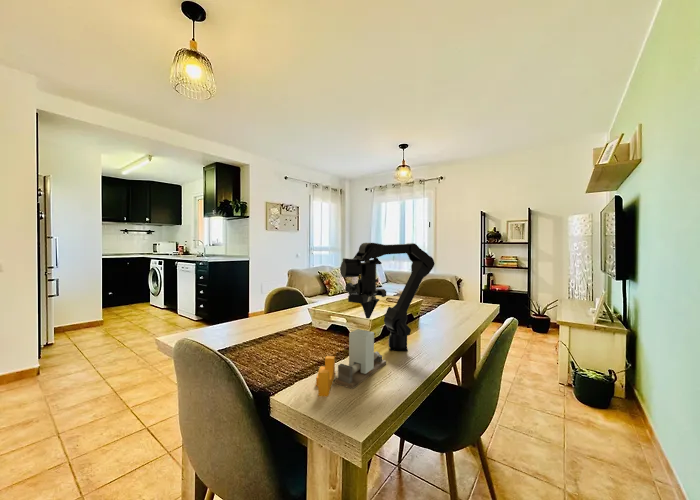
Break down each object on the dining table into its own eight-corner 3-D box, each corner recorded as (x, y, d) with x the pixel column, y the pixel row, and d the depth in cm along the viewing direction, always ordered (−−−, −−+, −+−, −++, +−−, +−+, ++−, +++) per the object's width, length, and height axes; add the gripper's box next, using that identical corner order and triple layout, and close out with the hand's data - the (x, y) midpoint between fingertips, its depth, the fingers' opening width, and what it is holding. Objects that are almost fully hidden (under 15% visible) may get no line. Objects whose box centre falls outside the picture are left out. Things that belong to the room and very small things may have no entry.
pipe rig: (370, 360, 105) (371, 344, 105) (386, 364, 102) (386, 348, 102) (335, 383, 88) (335, 364, 88) (352, 388, 84) (352, 369, 84)
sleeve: (357, 363, 98) (357, 329, 98) (373, 368, 94) (374, 332, 94) (349, 369, 94) (349, 332, 93) (365, 373, 90) (365, 336, 90)
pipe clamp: (320, 376, 92) (320, 355, 92) (334, 377, 92) (334, 356, 92) (311, 396, 80) (311, 372, 80) (327, 397, 80) (327, 373, 80)
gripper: (362, 273, 124) (362, 310, 124) (335, 277, 108) (335, 320, 108) (387, 274, 117) (386, 314, 118) (362, 279, 102) (361, 325, 102)
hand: (367, 318), depth 112 cm, fingers closed
